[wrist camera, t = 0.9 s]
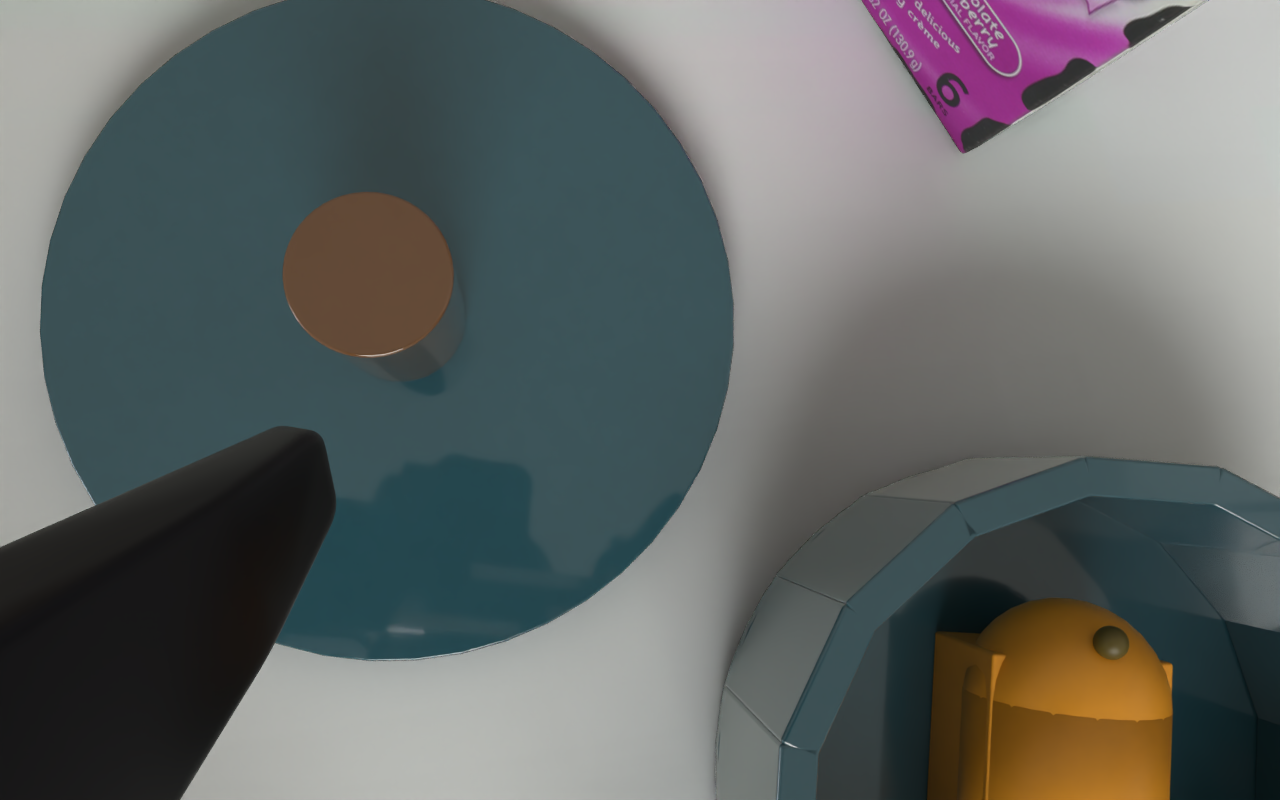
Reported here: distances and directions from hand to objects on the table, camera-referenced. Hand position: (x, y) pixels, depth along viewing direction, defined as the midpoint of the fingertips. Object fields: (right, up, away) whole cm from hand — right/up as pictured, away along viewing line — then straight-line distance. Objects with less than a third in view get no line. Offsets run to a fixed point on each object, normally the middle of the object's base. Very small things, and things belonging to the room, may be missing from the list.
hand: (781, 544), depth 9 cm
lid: (-7, +3, +16) cm, 17 cm away
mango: (+8, -8, +17) cm, 20 cm away
